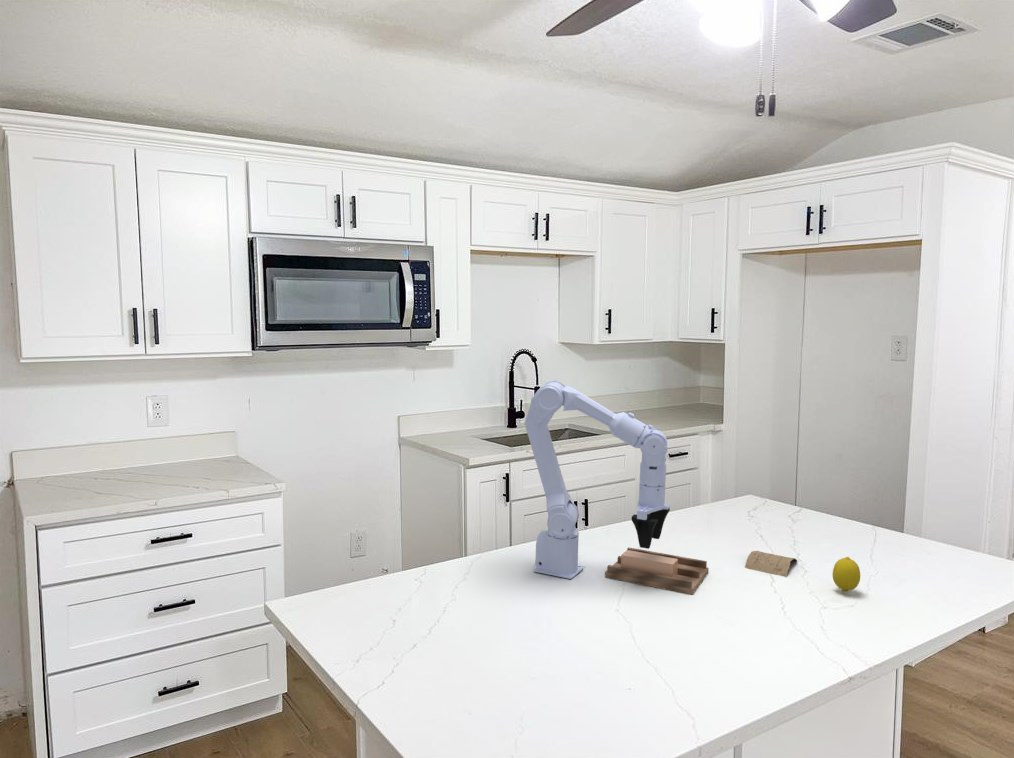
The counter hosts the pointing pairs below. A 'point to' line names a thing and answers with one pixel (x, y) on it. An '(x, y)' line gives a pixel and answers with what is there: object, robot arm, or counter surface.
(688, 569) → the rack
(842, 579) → the lemon
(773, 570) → the clay tablet
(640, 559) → the peach rectangular block
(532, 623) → the counter surface
